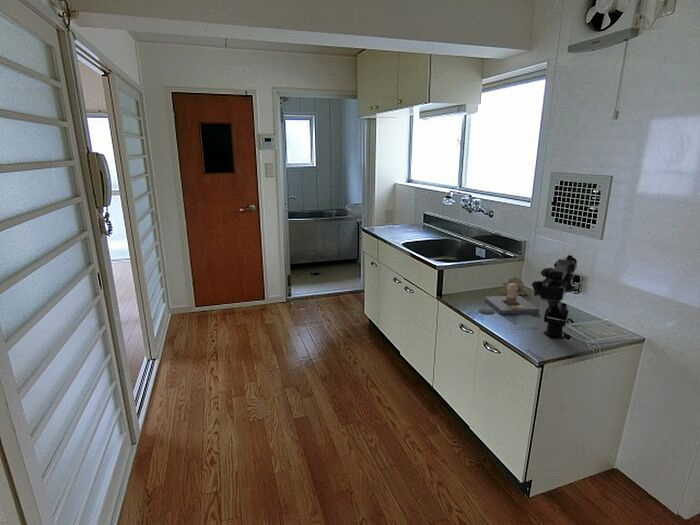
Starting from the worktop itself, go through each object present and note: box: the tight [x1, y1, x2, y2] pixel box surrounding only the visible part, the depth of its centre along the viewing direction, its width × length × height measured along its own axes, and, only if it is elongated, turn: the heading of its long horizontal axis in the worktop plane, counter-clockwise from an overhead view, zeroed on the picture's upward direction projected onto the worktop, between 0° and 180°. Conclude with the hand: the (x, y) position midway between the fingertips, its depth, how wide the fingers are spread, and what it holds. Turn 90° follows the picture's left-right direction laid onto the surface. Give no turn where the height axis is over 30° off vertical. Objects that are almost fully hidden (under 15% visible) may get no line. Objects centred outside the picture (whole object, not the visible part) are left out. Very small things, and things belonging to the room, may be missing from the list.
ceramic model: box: [499, 276, 528, 296], centre depth 232 cm, size 14×11×10 cm
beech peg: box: [506, 283, 518, 305], centre depth 208 cm, size 5×5×13 cm
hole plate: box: [484, 295, 540, 315], centre depth 210 cm, size 20×20×3 cm
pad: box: [478, 308, 496, 316], centre depth 203 cm, size 8×8×1 cm
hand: (542, 294), depth 194 cm, fingers open, 9 cm apart
